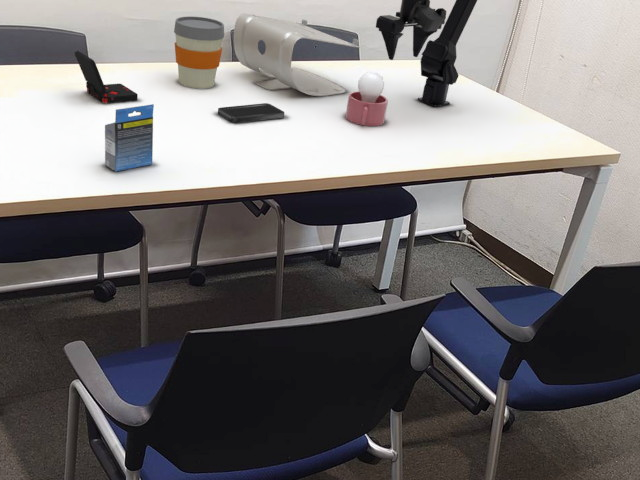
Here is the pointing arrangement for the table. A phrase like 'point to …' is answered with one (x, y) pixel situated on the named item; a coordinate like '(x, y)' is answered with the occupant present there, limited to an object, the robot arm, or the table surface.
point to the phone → (250, 112)
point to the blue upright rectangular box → (129, 139)
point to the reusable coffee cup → (198, 50)
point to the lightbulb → (370, 86)
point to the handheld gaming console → (96, 86)
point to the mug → (366, 110)
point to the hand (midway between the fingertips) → (403, 58)
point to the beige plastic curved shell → (281, 53)
